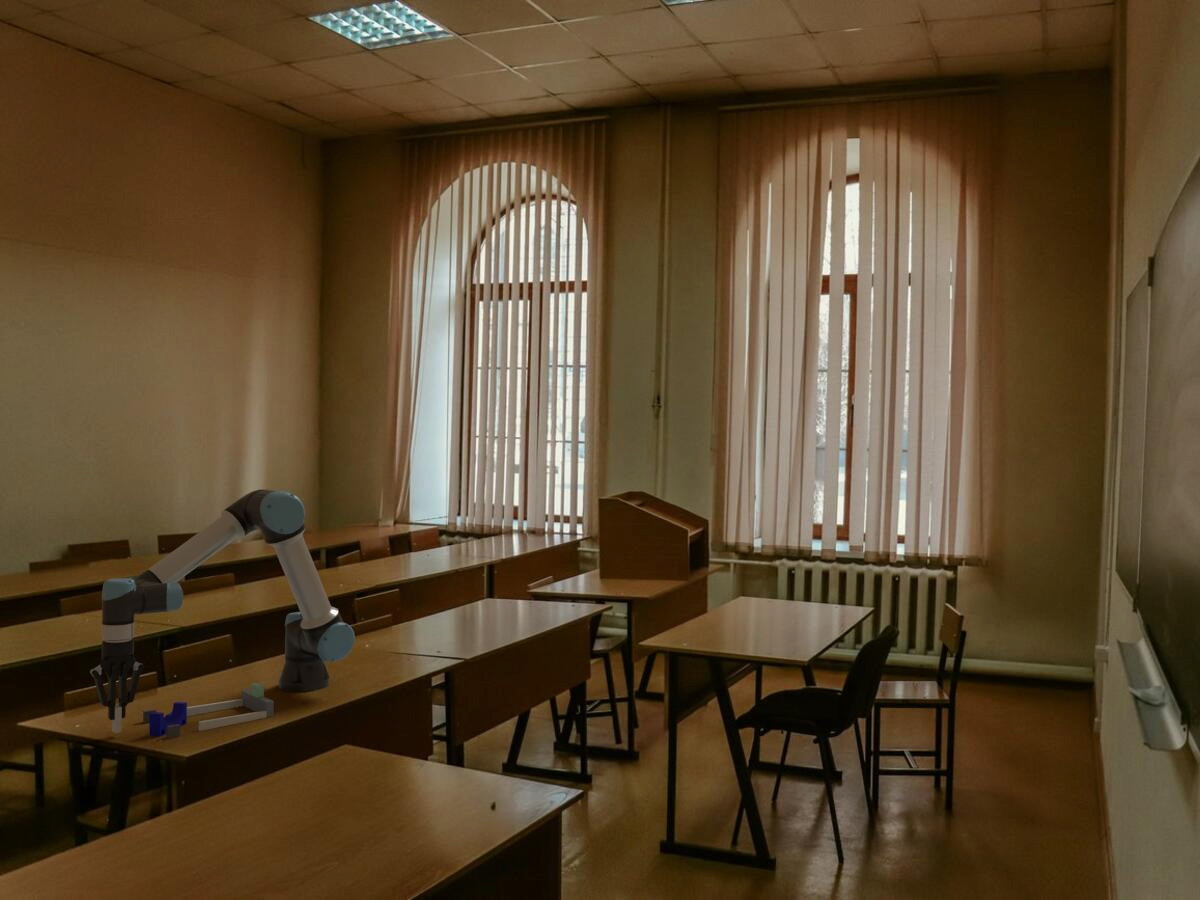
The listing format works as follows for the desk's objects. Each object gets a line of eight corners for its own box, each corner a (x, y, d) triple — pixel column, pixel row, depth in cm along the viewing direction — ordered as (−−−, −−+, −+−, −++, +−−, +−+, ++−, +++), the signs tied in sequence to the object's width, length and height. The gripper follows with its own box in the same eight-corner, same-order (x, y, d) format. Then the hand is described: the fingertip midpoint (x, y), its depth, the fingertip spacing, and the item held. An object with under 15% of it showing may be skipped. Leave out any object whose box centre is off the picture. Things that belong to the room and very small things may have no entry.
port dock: (248, 706, 294) (248, 678, 294) (273, 719, 281) (273, 690, 281) (176, 717, 281) (177, 688, 281) (199, 732, 268) (200, 701, 268)
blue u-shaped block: (171, 723, 276) (171, 701, 276) (186, 724, 275) (186, 702, 275) (144, 736, 264) (144, 713, 264) (159, 737, 263) (160, 714, 263)
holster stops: (154, 720, 278) (154, 709, 278) (179, 736, 263) (180, 725, 263) (143, 722, 276) (143, 711, 276) (167, 738, 261) (168, 727, 261)
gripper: (139, 634, 269) (138, 724, 270) (86, 640, 261) (84, 732, 261) (149, 639, 264) (147, 730, 264) (94, 645, 255) (93, 739, 255)
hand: (116, 731), depth 263 cm, fingers closed
